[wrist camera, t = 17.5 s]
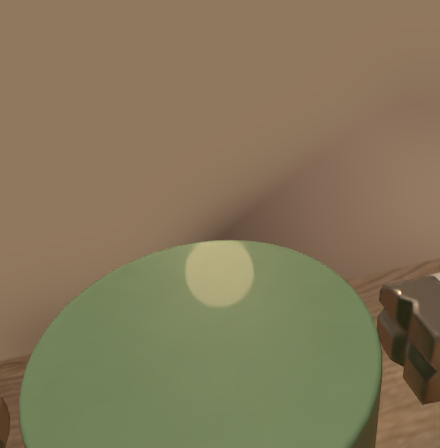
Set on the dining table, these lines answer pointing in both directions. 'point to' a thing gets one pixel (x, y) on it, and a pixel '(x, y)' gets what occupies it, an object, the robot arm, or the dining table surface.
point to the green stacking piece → (208, 356)
